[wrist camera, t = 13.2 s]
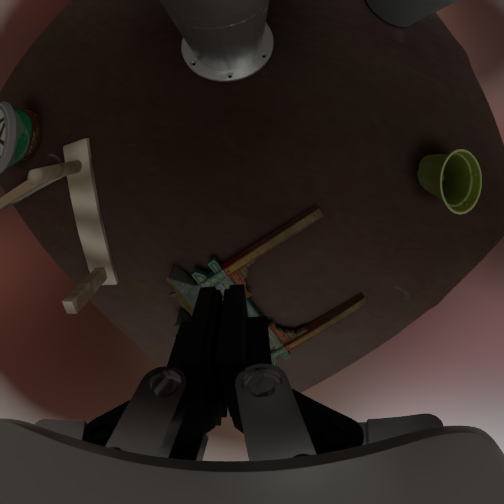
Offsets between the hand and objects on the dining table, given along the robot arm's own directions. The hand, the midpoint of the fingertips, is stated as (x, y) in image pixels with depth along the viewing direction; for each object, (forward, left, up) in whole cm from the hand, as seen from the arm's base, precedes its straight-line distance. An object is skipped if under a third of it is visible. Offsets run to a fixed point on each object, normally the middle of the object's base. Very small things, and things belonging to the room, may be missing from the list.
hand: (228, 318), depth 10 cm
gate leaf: (-7, -34, -28) cm, 44 cm away
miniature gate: (+18, +2, -30) cm, 35 cm away
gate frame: (0, -25, -29) cm, 38 cm away
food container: (-16, -35, -29) cm, 48 cm away
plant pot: (-2, +31, -29) cm, 43 cm away
